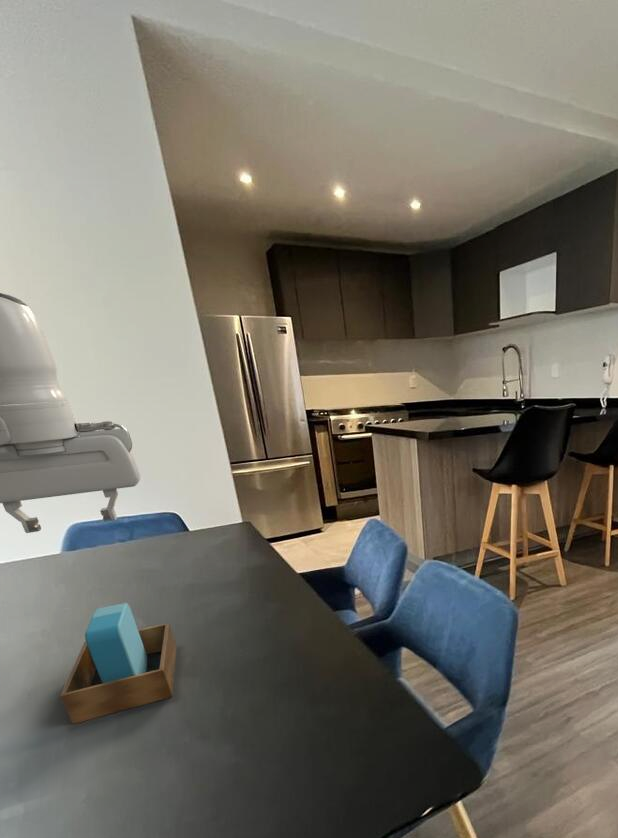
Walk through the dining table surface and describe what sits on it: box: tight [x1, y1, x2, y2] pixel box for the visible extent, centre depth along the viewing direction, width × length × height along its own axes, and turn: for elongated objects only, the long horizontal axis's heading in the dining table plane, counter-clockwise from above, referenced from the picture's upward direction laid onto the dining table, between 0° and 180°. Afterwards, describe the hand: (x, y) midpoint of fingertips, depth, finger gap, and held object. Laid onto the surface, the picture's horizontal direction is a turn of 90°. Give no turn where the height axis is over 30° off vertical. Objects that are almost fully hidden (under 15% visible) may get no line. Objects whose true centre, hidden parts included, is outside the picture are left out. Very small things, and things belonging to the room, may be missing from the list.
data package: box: [84, 602, 149, 684], centre depth 80 cm, size 12×4×12 cm, turn 26°
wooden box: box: [60, 622, 177, 725], centre depth 81 cm, size 13×18×5 cm
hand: (73, 525), depth 72 cm, fingers open, 8 cm apart
